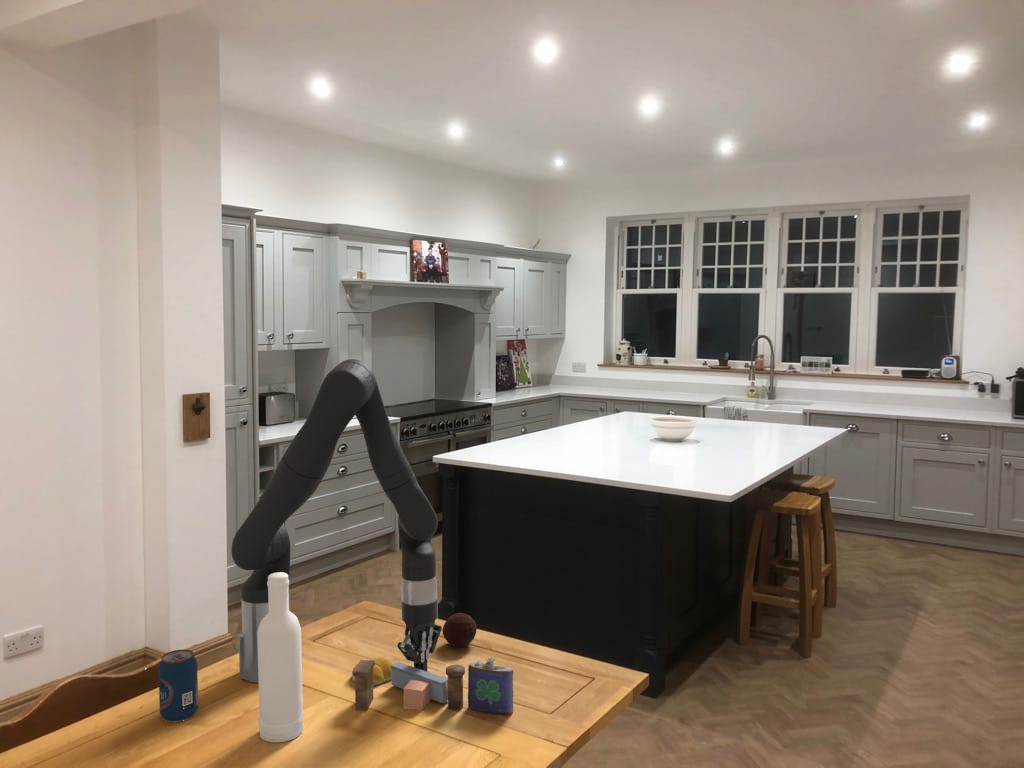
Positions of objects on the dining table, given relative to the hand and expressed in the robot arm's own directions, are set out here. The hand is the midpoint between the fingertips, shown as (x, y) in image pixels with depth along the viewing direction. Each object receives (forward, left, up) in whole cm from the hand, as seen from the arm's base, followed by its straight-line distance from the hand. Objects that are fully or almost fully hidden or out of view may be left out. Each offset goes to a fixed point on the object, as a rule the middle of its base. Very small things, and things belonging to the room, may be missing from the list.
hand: (421, 676), depth 170 cm
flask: (+16, -11, -2) cm, 19 cm away
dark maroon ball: (+6, +20, -2) cm, 21 cm away
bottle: (-22, -22, -2) cm, 31 cm away
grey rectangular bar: (+1, -5, -1) cm, 5 cm away
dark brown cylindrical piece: (+9, -10, -2) cm, 13 cm away
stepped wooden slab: (-10, -10, -2) cm, 14 cm away
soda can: (-44, -17, -2) cm, 47 cm away
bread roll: (-11, +2, -2) cm, 11 cm away
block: (+1, -9, -2) cm, 9 cm away
